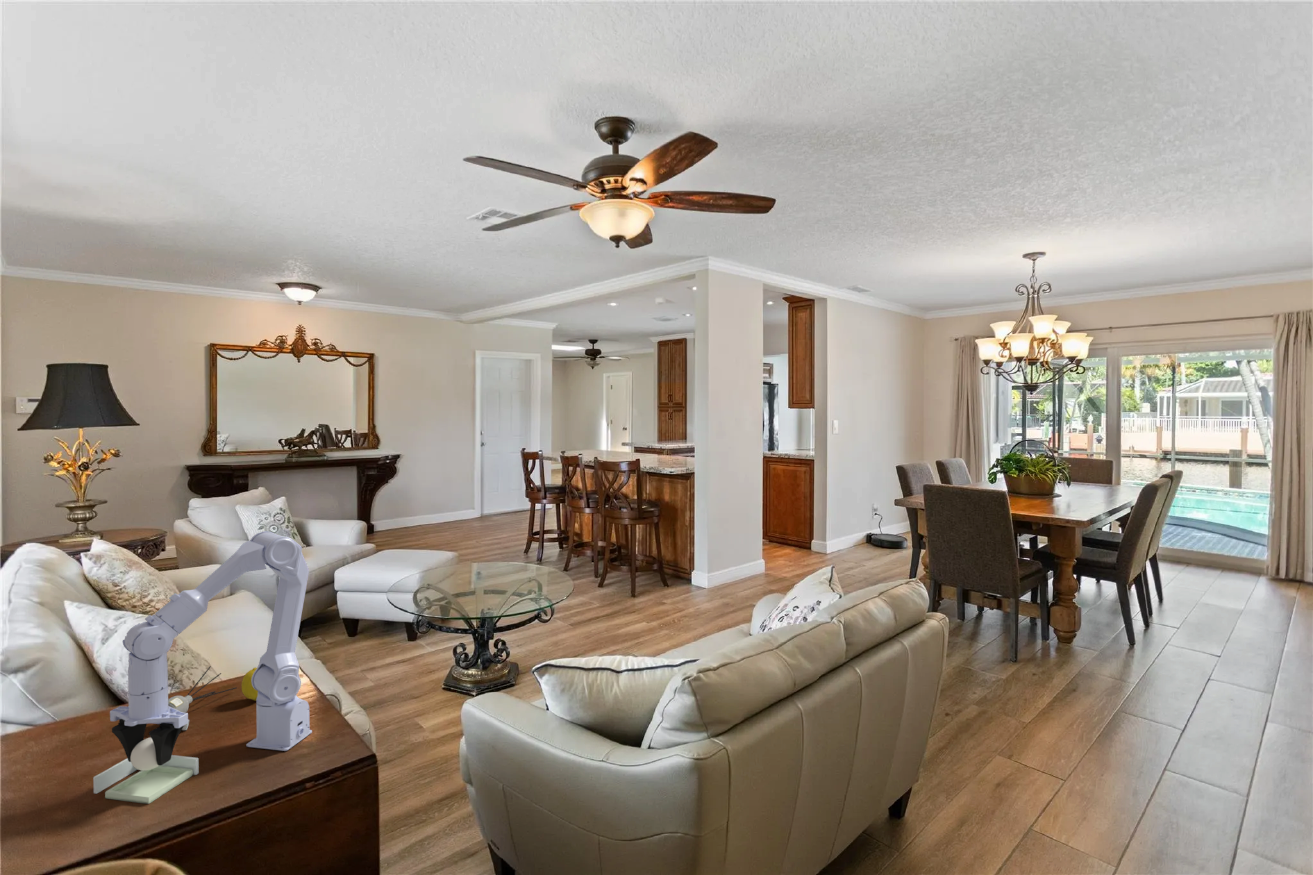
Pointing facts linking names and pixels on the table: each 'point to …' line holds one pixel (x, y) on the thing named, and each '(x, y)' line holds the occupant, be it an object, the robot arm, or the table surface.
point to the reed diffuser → (189, 699)
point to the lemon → (249, 686)
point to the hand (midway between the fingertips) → (149, 760)
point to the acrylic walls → (127, 768)
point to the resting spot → (149, 784)
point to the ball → (144, 755)
